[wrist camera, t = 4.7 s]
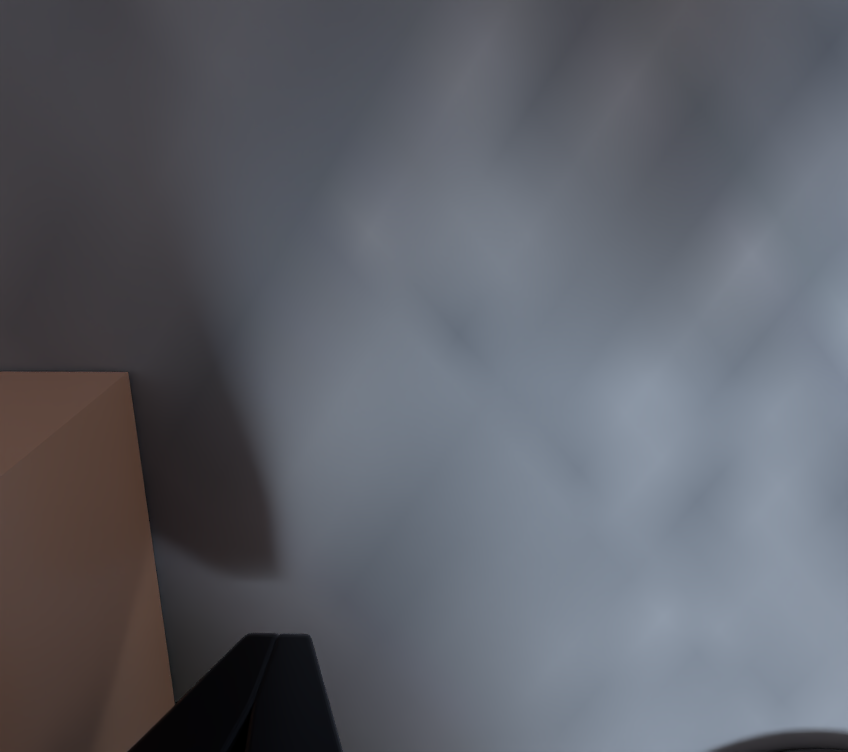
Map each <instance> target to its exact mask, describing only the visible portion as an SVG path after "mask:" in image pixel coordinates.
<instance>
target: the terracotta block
mask: <svg viewBox="0 0 848 752" xmlns="http://www.w3.org/2000/svg"><path fill="white" fill-rule="evenodd" d="M174 705H175V701H174V694H173V687H172V680H171V673H170V666H169V658H168V651H167V644H166V637H165V630H164V623H163V616H162V609H161V602H160V594H159V587H158V580H157V573H156V566H155V559H154V552H153V545H152V538H151V530H150V523H149V516H148V509H147V502H146V495H145V488H144V481H143V474H142V466H141V459H140V452H139V445H138V438H137V431H136V424H135V417H134V410H133V402H132V395H131V388H130V381H129V374H128V372H11V371H0V752H127V751H128V750H129V749H130V748H131V747H133V746H134V745H135V744H136V743H137V742H138V741H139V740H140V739H141V738H142V737H143V736H144V735H145V734H146V733H147V732H148V731H149V730H150V729H151V728H152V727H153V726H154V725H155V724H156V723H157V722H158V721H159V720H160V719H161V718H162V717H163V716H164V715H165V714H166V713H167V712H168V711H169V710H170V709H171V708H172V707H173V706H174Z"/></svg>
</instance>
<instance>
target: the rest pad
mask: <svg viewBox="0 0 848 752" xmlns="http://www.w3.org/2000/svg"><path fill="white" fill-rule="evenodd" d="M783 752H848V751H847V750H835V749H803V750H790V751H783Z"/></svg>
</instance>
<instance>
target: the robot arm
mask: <svg viewBox="0 0 848 752" xmlns="http://www.w3.org/2000/svg"><path fill="white" fill-rule="evenodd" d="M127 752H343V750H342V747H341V743H340V739H339V736H338V732H337V729H336V725H335V721H334V718H333V714H332V711H331V707H330V703H329V700H328V696H327V693H326V689H325V685H324V682H323V678H322V675H321V671H320V667H319V664H318V660H317V657H316V653H315V649H314V646H313V642H312V639H311V637H310V636H309V635H308V634H280V635H278V634H276V633H249V634H247V635H245V636H244V637H243V638H242V639H241V640H240V641H239V642H238V643H237V644H236V645H235V646H234V647H233V648H232V649H231V650H230V651H229V652H228V653H227V654H226V655H225V656H224V657H223V658H222V659H221V660H220V661H219V662H218V663H217V664H216V665H215V666H214V667H213V668H212V669H211V670H210V671H209V672H208V673H207V674H206V675H205V676H204V677H202V678H201V679H200V680H199V681H198V682H197V683H196V684H195V685H194V686H193V687H192V688H191V689H190V690H189V691H188V692H187V693H186V694H185V695H184V696H183V697H182V698H181V699H180V700H179V701H178V702H177V703H176V704H175V705H174V706H173V707H172V708H171V709H170V710H169V711H168V712H167V713H166V714H165V715H164V716H163V717H162V718H161V719H160V720H159V721H158V722H157V723H156V724H155V725H154V726H153V727H152V728H151V729H150V730H149V731H148V732H147V733H146V734H145V735H144V736H143V737H142V738H141V739H140V740H139V741H138V742H137V743H136V744H135V745H134V746H133V747H131V748H130V749H129V750H128V751H127Z"/></svg>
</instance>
